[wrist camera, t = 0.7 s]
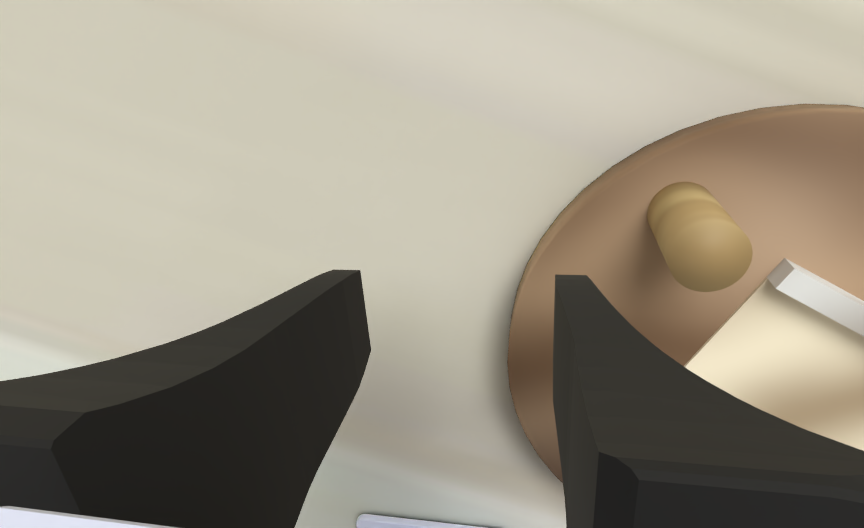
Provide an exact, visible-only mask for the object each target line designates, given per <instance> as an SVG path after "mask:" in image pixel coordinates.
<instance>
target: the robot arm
mask: <svg viewBox="0 0 864 528" xmlns="http://www.w3.org/2000/svg"><path fill="white" fill-rule="evenodd" d="M370 352H371V346H370V339H369V332H368V324H367V317H366V310H365V302H364V295H363V288H362V280H361V273H360V270H332V271H328V272H326V273H323V274H321V275H318V276H316V277H314V278H312V279H310V280H308V281H306V282H304V283H302V284H300V285H298V286H296V287H294V288H292V289H290V290H288V291H286V292H284V293H282V294H280V295H278V296H276V297H274V298H272V299H270V300H268V301H266V302H264V303H262V304H260V305H258V306H256V307H254V308H252V309H250V310H247V311H245V312H243V313H241V314H239V315H237V316H235V317H232V318H230V319H228V320H226V321H224V322H221V323H219V324H217V325H214V326H212V327H209V328H207V329H204V330H202V331H199V332H197V333H194V334H191V335H189V336H186V337H183V338H180V339H178V340H175V341H172V342H169V343H166V344H163V345H159V346H156V347H153V348H149V349H146V350H142V351H139V352H136V353H132V354H129V355H125V356H122V357H119V358H115V359H111V360H107V361H103V362H99V363H95V364H90V365H86V366H82V367H77V368H72V369H68V370H63V371H58V372H53V373H48V374H43V375H37V376H32V377H25V378H19V379H13V380H6V381H0V528H294V527H295V525H296V522H297V519H298V517H299V514H300V511H301V509H302V506H303V503H304V501H305V498H306V495H307V493H308V490H309V488H310V486H311V483H312V481H313V479H314V477H315V475H316V472H317V470H318V468H319V466H320V464H321V462H322V460H323V458H324V456H325V454H326V452H327V450H328V448H329V447H330V445H331V443H332V441H333V439H334V437H335V435H336V433H337V431H338V429H339V427H340V425H341V423H342V421H343V419H344V417H345V415H346V413H347V411H348V409H349V407H350V405H351V403H352V401H353V399H354V397H355V395H356V393H357V391H358V388H359V386H360V383H361V380H362V377H363V374H364V371H365V368H366V365H367V362H368V358H369V355H370ZM553 406H554V414H555V422H556V430H557V438H558V446H559V454H560V462H561V470H562V478H563V486H564V494H565V507H566V524H567V528H864V451H863V450H860V449H857V448H854V447H852V446H849V445H846V444H843V443H841V442H838V441H835V440H833V439H830V438H827V437H824V436H822V435H819V434H816V433H813V432H811V431H808V430H806V429H803V428H801V427H798V426H796V425H794V424H792V423H789V422H787V421H785V420H783V419H780V418H778V417H776V416H774V415H771V414H769V413H767V412H765V411H762V410H760V409H758V408H756V407H754V406H752V405H750V404H748V403H746V402H744V401H742V400H740V399H738V398H736V397H734V396H733V395H731V394H729V393H727V392H725V391H724V390H722V389H720V388H718V387H717V386H715V385H713V384H711V383H709V382H708V381H706V380H704V379H703V378H701V377H699V376H698V375H696V374H695V373H693V372H691V371H690V370H688V369H687V368H685V367H684V366H683V365H681V364H680V363H678V362H677V361H675V360H674V359H673V358H671V357H670V356H668V355H667V354H665V353H664V352H663V351H661V350H660V349H659V348H658V347H656V346H655V345H654V344H653V343H651V342H650V341H649V340H648V339H647V338H646V337H644V336H643V335H642V334H641V333H640V332H639V331H637V330H636V329H635V328H634V327H633V326H632V325H631V324H630V323H629V322H628V321H627V320H626V319H625V318H624V317H623V316H622V315H621V314H620V313H619V312H618V311H617V310H616V309H615V307H614V306H613V305H612V304H611V303H610V302H609V301H608V300H607V298H606V297H605V296H604V295H603V294H602V293H601V291H600V290H599V289H598V288H597V286H596V285H595V284H594V283H593V281H592V280H591V279H590V278H589V277H588V276H587V275H558V274H555V299H554V334H553ZM356 527H357V528H486V527H477V526H468V525H459V524H450V523H442V522H433V521H424V520H415V519H406V518H397V517H389V516H380V515H371V514H362V515H360V516H359V517H358V519H357V522H356Z"/></svg>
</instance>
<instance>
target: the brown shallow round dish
mask: <svg viewBox="0 0 864 528" xmlns="http://www.w3.org/2000/svg"><path fill="white" fill-rule="evenodd" d="M555 274H558V275H587V276H588V277H589V278H590V279H591V280H592V281H593V283H594V284H595V285H596V286H597V288H598V289H599V290H600V291H601V293H602V294H603V295H604V296H605V297H606V298H607V300H608V301H609V302H610V303H611V304H612V305H613V306H614V307H615V309H616V310H617V311H618V312H619V313H620V314H621V315H622V316H623V317H624V318H625V319H626V320H627V321H628V322H629V323H630V324H631V325H632V326H633V327H634V328H635V329H636V330H637V331H639V332H640V333H641V334H642V335H643V336H644V337H646V338H647V339H648V340H649V341H650V342H651V343H653V344H654V345H655V346H656V347H658V348H659V349H660V350H661V351H663V352H664V353H665V354H667V355H668V356H670V357H671V358H673V359H674V360H675V361H677V362H678V363H680V364H681V365H683V366H684V367H685V368H687V369H688V370H690V371H691V372H693V373H695V374H696V375H698V376H699V377H701V378H703V379H704V380H706V381H708V382H709V383H711V384H713V385H715V386H717V387H718V388H720V389H722V390H724V391H725V392H727V393H729V394H731V395H733V396H734V397H736V398H738V399H740V400H742V401H744V402H746V403H748V404H750V405H752V406H754V407H756V408H758V409H760V410H762V411H765V412H767V413H769V414H771V415H774V416H776V417H778V418H780V419H783V420H785V421H787V422H789V423H792V424H794V425H796V426H798V427H801V428H803V429H806V430H808V431H811V432H813V433H816V434H819V435H822V436H824V437H827V438H830V439H833V440H835V441H838V442H841V443H843V444H846V445H849V446H852V447H854V448H857V449H860V450H863V451H864V108H862V107H856V106H849V105H825V104H798V105H787V106H777V107H766V108H758V109H754V110H749V111H744V112H740V113H735V114H730V115H726V116H721V117H717V118H714V119H712V120H709V121H706V122H703V123H700V124H697V125H694V126H691V127H688V128H685V129H682V130H679V131H677V132H675V133H673V134H671V135H669V136H666V137H664V138H662V139H660V140H658V141H656V142H654V143H651V144H649V145H647V146H645V147H643V148H642V149H640V150H638V151H637V152H635V153H634V154H632V155H630V156H629V157H627V158H625V159H624V160H622V161H621V162H619V163H617V164H616V165H614V166H612V167H611V168H610V169H609V170H607V171H606V172H605V173H604V174H602V175H601V176H600V177H599V178H597V179H596V180H595V181H594V182H592V183H591V184H590V185H588V186H587V187H586V188H585V189H584V190H583V191H582V192H581V193H580V194H579V195H578V196H577V197H576V198H575V199H574V200H573V201H572V202H571V203H570V204H569V205H568V206H567V207H566V208H565V209H564V210H563V211H562V212H561V213H560V214H559V216H558V217H557V218H556V220H555V221H554V222H553V224H552V225H551V226H550V228H549V229H548V230H547V232H546V233H545V234H544V236H543V237H542V238H541V240H540V242H539V244H538V246H537V247H536V249H535V251H534V253H533V254H532V256H531V258H530V260H529V262H528V263H527V266H526V268H525V271H524V274H523V276H522V279H521V281H520V284H519V287H518V289H517V293H516V298H515V302H514V307H513V311H512V317H511V325H510V334H509V347H508V362H507V363H508V374H509V385H510V391H511V395H512V399H513V402H514V406H515V410H516V413H517V416H518V418H519V420H520V423H521V425H522V427H523V430H524V432H525V434H526V436H527V438H528V439H529V441H530V443H531V444H532V446H533V447H534V449H535V451H536V452H537V454H538V455H539V457H540V458H541V459H542V460H543V462H544V463H545V464H546V465H547V467H548V468H549V469H550V470H551V471H552V473H553V474H554V475H555V476H556V477H557V478H558V479H559V480H560V481H561V482H562V483H563V478H562V470H561V462H560V454H559V446H558V438H557V430H556V422H555V414H554V406H553V334H554V299H555Z"/></svg>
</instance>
